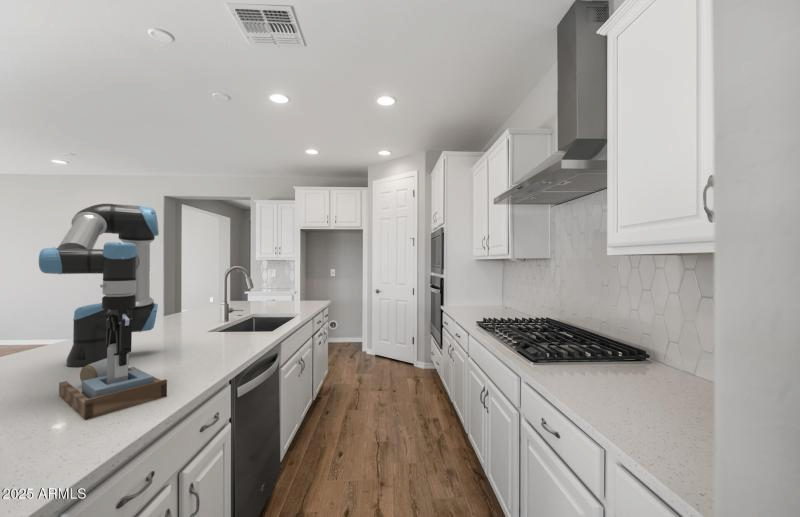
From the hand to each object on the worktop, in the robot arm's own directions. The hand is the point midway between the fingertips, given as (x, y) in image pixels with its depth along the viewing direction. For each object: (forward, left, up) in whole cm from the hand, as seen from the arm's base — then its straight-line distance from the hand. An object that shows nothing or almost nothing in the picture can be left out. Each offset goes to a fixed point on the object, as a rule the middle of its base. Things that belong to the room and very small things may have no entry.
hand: (117, 374), depth 96 cm
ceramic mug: (-23, +3, -9) cm, 24 cm away
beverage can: (0, 0, -3) cm, 3 cm away
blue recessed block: (+1, 0, -7) cm, 7 cm away
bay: (-3, 0, -8) cm, 9 cm away
